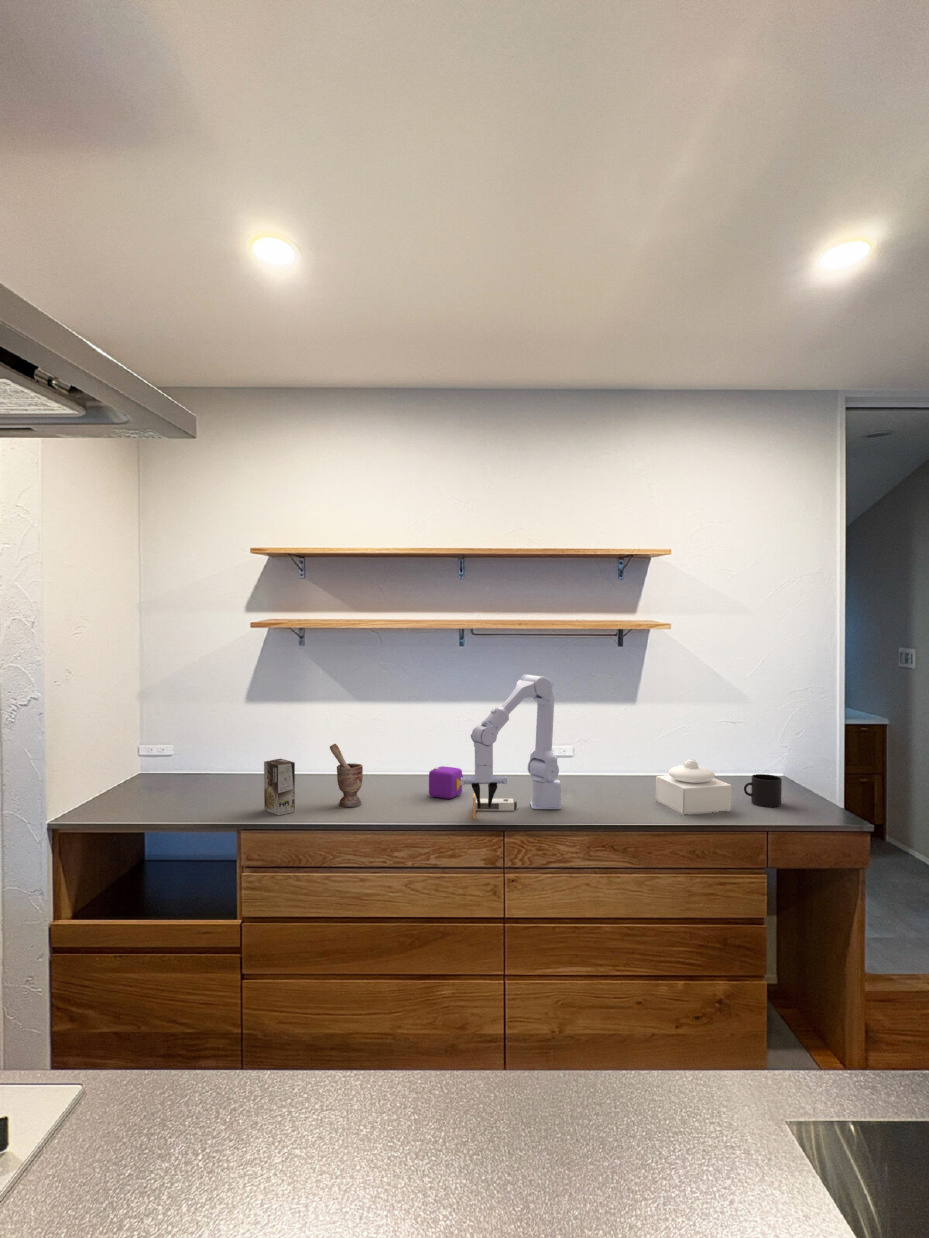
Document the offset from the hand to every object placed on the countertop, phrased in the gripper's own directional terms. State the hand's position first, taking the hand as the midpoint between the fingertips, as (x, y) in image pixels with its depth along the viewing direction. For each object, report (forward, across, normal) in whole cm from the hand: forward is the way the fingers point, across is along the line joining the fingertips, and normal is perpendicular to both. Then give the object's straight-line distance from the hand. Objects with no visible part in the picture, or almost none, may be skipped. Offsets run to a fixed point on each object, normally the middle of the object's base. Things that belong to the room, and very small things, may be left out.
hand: (484, 806), depth 230 cm
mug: (+5, -96, -12) cm, 97 cm away
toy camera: (+4, +10, -29) cm, 31 cm away
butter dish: (+5, -71, -10) cm, 72 cm away
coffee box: (+3, +65, -11) cm, 66 cm away
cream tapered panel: (+4, -4, -10) cm, 12 cm away
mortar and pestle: (+3, +45, -18) cm, 48 cm away
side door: (+3, +3, -3) cm, 5 cm away
